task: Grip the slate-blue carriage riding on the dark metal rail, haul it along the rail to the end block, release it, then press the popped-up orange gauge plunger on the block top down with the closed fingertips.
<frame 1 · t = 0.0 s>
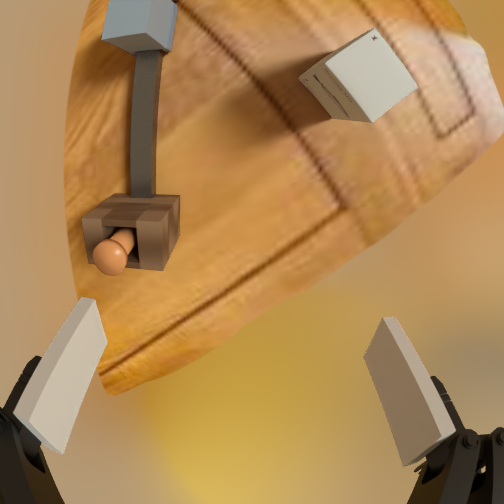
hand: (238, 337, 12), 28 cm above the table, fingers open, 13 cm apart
gauge plunger: (119, 246, 29), point 10 cm above the table, slide at 0.0 cm
end block: (146, 214, 38), on the table
supplement box: (333, 84, 31), on the table
rail: (148, 91, 30), on the table
carriage: (143, 20, 21), point 5 cm above the table, slide at 0.0 cm
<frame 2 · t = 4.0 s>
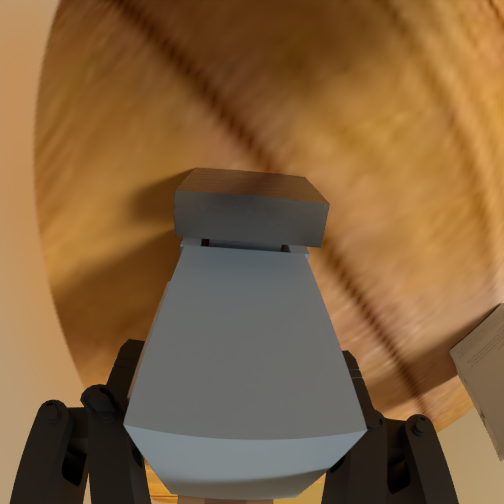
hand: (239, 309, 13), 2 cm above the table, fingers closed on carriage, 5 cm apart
end block: (225, 459, 27), on the table
supplement box: (478, 341, 20), on the table
rail: (231, 385, 19), on the table
carriage: (238, 364, 10), point 5 cm above the table, slide at 0.0 cm, touching gripper
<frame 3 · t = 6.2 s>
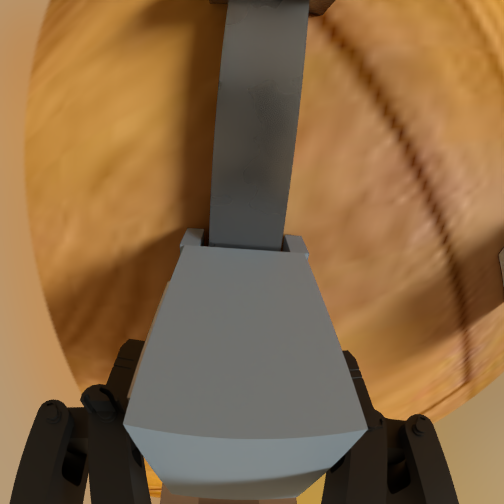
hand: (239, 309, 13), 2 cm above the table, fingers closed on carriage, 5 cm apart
end block: (228, 429, 23), on the table
rail: (240, 278, 15), on the table
carriage: (238, 364, 10), point 5 cm above the table, slide at 9.7 cm, touching gripper
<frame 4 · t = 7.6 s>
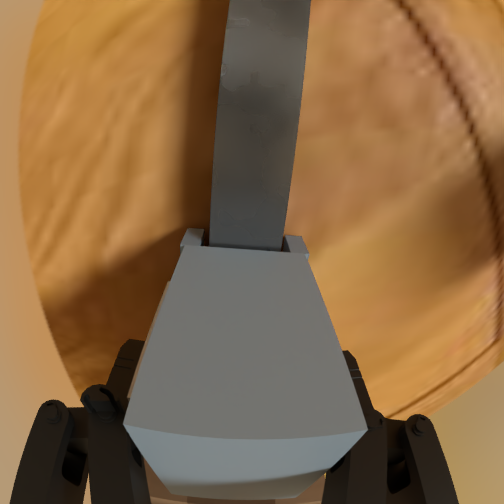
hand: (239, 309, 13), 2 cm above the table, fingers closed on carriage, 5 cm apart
end block: (231, 390, 19), on the table
rail: (253, 137, 12), on the table
carriage: (238, 364, 10), point 5 cm above the table, slide at 16.8 cm, touching gripper
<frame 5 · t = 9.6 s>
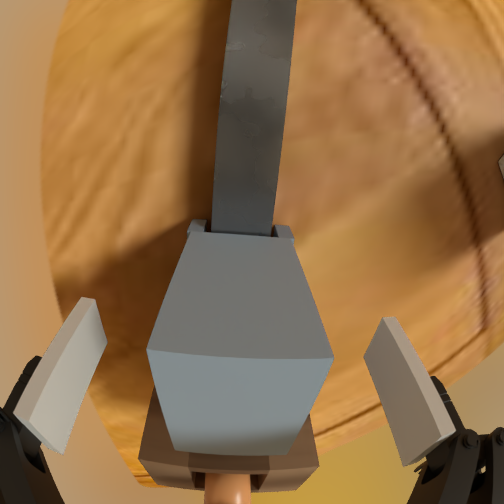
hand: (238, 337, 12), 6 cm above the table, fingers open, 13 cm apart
gauge plunger: (227, 488, 12), point 10 cm above the table, slide at 0.0 cm
end block: (229, 371, 22), on the table
rail: (248, 141, 14), on the table
carriage: (235, 330, 13), point 5 cm above the table, slide at 17.0 cm
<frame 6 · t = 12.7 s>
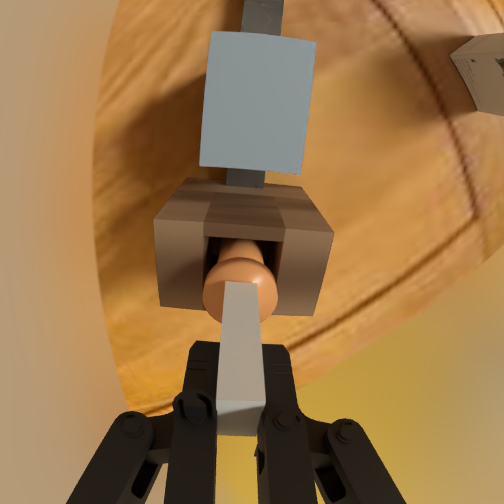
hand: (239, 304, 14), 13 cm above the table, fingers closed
gauge plunger: (240, 267, 17), point 9 cm above the table, slide at 1.1 cm, touching gripper
end block: (241, 213, 25), on the table
supplement box: (477, 72, 18), on the table
rail: (261, 22, 17), on the table
carriage: (253, 104, 16), point 5 cm above the table, slide at 17.0 cm
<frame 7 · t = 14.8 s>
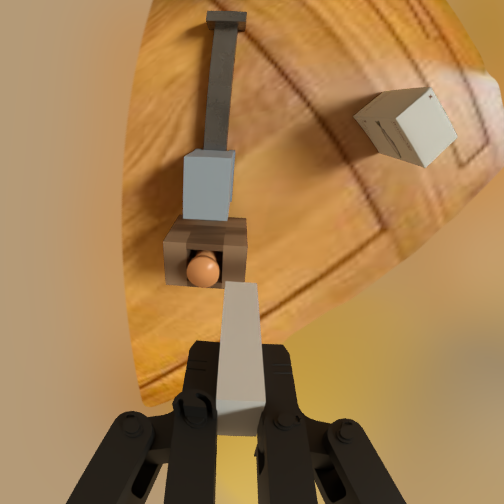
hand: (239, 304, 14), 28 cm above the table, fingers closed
gauge plunger: (205, 260, 35), point 9 cm above the table, slide at 1.9 cm
end block: (211, 235, 43), on the table
supplement box: (381, 122, 36), on the table
rail: (218, 118, 35), on the table
carriage: (210, 180, 34), point 5 cm above the table, slide at 17.0 cm
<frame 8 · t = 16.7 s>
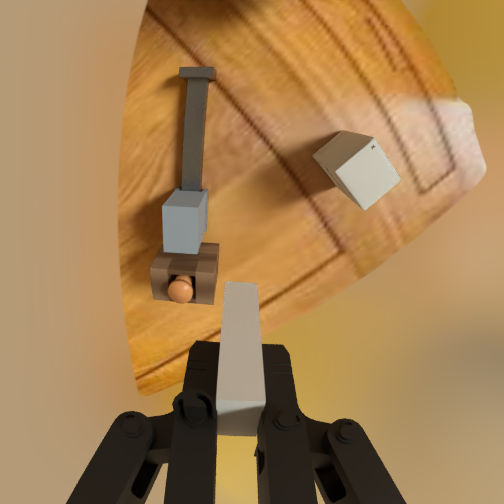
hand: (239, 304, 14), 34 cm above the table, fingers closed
gauge plunger: (183, 281, 44), point 9 cm above the table, slide at 1.9 cm
end block: (191, 256, 51), on the table
supplement box: (339, 158, 44), on the table
rail: (193, 161, 43), on the table
carriage: (186, 218, 42), point 5 cm above the table, slide at 17.0 cm
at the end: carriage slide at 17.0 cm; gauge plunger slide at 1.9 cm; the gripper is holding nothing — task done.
